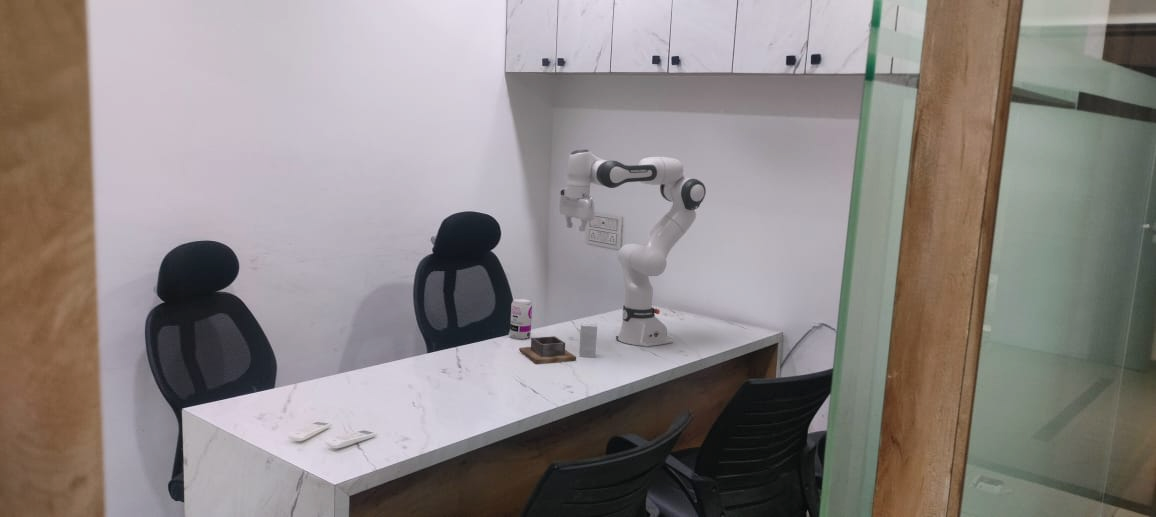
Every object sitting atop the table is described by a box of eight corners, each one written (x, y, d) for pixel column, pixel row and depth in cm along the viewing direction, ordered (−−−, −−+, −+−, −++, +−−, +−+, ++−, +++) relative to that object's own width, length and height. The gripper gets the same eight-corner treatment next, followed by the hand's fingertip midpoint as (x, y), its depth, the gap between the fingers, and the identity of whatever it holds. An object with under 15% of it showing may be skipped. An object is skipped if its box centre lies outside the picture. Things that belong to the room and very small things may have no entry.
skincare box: (594, 354, 299) (596, 323, 297) (595, 357, 295) (597, 326, 293) (578, 353, 299) (580, 322, 297) (579, 356, 295) (581, 325, 293)
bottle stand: (558, 348, 304) (558, 333, 303) (576, 360, 289) (577, 345, 288) (519, 351, 297) (520, 336, 296) (535, 364, 282) (536, 347, 281)
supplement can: (531, 335, 320) (533, 299, 318) (528, 340, 312) (530, 303, 310) (512, 333, 321) (513, 297, 319) (508, 338, 313) (510, 301, 311)
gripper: (599, 196, 291) (597, 233, 293) (571, 190, 308) (569, 225, 310) (585, 196, 287) (582, 233, 290) (557, 190, 305) (555, 225, 307)
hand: (575, 229), depth 300 cm, fingers open, 8 cm apart
